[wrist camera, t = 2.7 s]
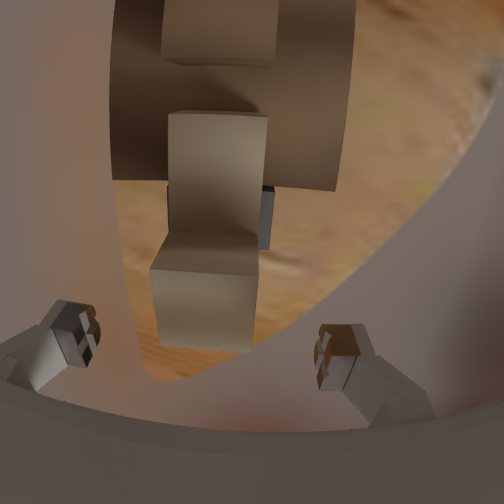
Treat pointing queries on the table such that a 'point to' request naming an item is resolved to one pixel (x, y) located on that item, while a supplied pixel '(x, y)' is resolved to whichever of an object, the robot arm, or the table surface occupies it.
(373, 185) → the table surface
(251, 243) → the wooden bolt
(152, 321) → the table surface
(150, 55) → the toolbox lid
